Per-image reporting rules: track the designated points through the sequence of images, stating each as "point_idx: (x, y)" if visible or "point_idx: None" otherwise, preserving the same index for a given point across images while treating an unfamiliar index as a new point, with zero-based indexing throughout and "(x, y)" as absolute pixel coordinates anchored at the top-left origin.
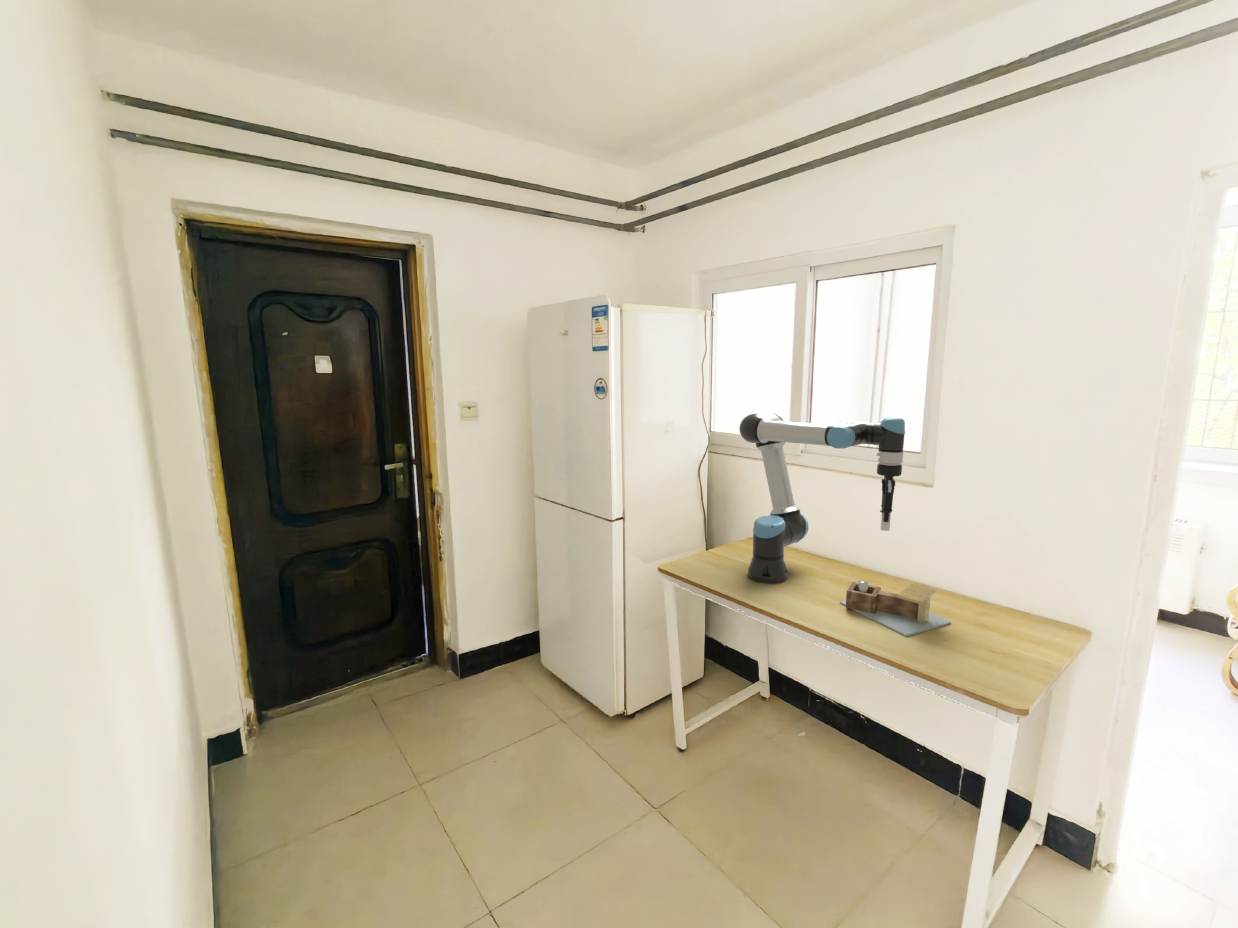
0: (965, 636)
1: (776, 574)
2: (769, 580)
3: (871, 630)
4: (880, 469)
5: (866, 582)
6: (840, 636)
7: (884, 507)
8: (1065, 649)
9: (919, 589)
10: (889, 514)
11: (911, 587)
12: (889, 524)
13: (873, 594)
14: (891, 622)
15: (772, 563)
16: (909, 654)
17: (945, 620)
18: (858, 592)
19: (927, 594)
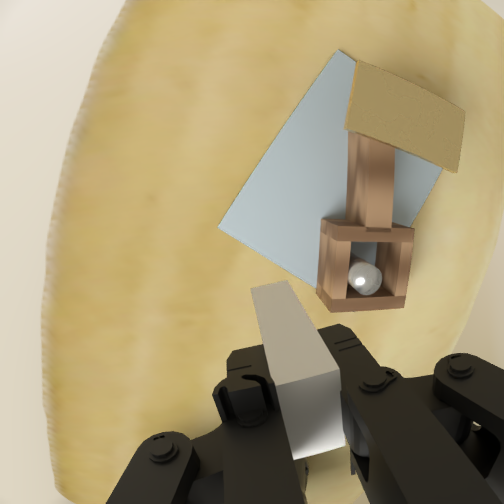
0: (381, 34)
1: (298, 460)
2: (305, 457)
3: (451, 216)
4: None
5: (368, 271)
6: (485, 265)
7: (497, 448)
8: None
9: (386, 106)
10: (331, 366)
11: (383, 130)
12: (300, 304)
13: (402, 237)
14: (415, 179)
15: (300, 485)
16: (494, 146)
17: (337, 59)
18: (404, 277)
19: (411, 87)
